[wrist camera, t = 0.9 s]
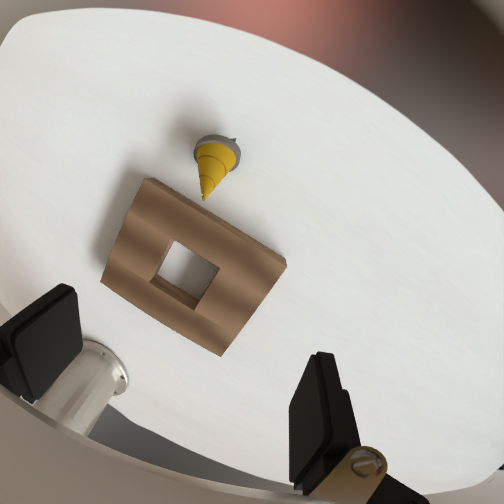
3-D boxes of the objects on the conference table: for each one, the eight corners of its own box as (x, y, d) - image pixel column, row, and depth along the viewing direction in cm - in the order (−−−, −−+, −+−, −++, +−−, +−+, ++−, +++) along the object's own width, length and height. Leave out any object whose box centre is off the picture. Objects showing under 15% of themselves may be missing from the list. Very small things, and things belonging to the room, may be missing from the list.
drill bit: (252, 143, 33) (239, 208, 29) (218, 157, 36) (200, 219, 32) (227, 113, 29) (206, 176, 25) (193, 130, 32) (167, 192, 28)
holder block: (223, 345, 41) (220, 356, 38) (110, 274, 39) (100, 281, 36) (285, 259, 37) (287, 266, 34) (153, 177, 35) (144, 178, 32)
